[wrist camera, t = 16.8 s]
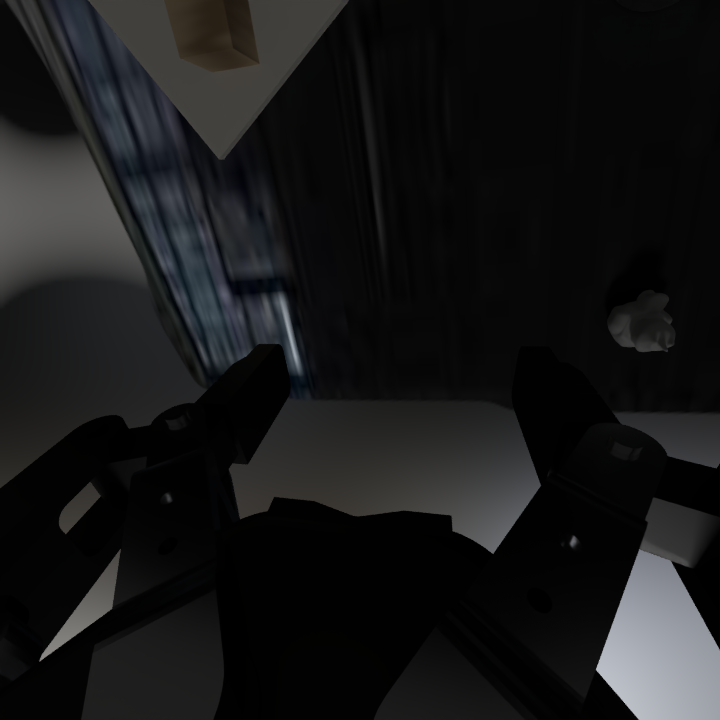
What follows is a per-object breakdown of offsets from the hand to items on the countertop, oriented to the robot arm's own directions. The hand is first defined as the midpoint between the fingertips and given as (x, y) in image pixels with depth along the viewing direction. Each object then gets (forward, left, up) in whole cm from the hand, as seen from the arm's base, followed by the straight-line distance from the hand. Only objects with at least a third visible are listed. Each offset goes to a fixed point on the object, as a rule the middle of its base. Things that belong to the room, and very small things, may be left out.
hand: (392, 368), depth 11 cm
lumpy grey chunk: (-14, +22, -30) cm, 40 cm away
